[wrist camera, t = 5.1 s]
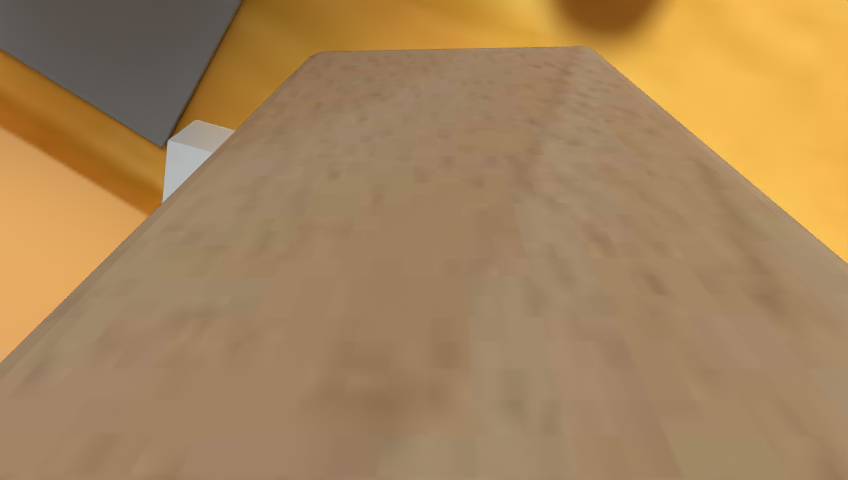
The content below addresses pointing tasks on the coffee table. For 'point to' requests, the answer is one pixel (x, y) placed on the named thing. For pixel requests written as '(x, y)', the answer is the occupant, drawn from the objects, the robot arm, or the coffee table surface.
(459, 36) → the coffee table surface
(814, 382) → the wooden block
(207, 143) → the pale blue cube
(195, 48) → the slate mat
